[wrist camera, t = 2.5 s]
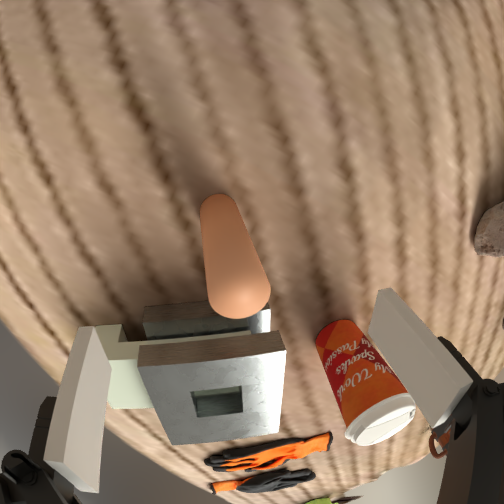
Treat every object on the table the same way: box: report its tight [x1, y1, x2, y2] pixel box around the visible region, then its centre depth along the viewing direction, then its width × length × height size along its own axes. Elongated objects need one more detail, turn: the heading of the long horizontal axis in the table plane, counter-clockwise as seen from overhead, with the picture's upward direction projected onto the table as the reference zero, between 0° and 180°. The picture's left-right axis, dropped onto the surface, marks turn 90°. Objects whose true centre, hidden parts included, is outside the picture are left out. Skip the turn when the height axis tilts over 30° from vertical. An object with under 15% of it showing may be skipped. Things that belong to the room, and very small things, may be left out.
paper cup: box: [316, 319, 416, 446], centre depth 30 cm, size 8×8×14 cm
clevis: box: [137, 301, 286, 445], centre depth 30 cm, size 14×12×8 cm
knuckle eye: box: [95, 324, 251, 409], centre depth 30 cm, size 8×16×5 cm, turn 91°
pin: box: [200, 194, 271, 319], centre depth 21 cm, size 3×3×12 cm
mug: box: [429, 414, 454, 459], centre depth 60 cm, size 9×12×12 cm
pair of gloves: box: [204, 432, 333, 495], centre depth 52 cm, size 27×24×3 cm
